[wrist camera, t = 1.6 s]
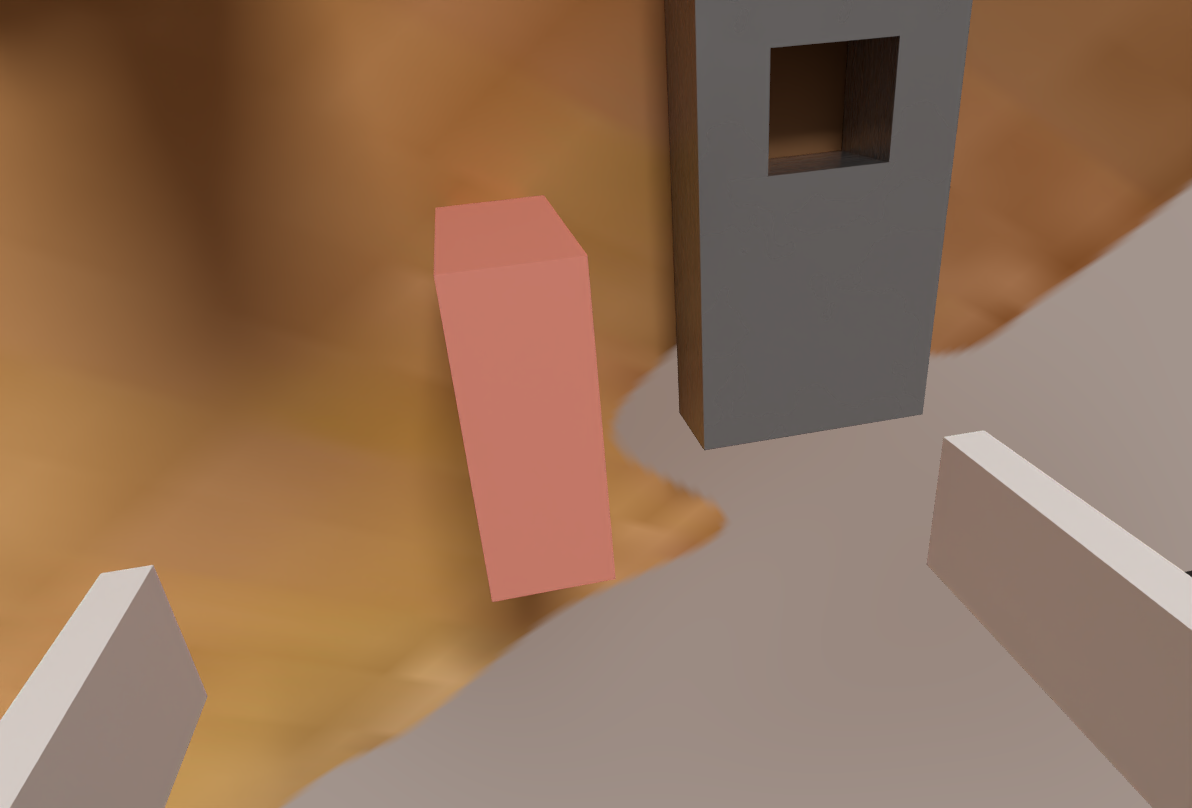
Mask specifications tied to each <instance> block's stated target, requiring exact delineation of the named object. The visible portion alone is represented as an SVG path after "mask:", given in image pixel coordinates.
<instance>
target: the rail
mask: <svg viewBox="0 0 1192 808" xmlns="http://www.w3.org/2000/svg"><path fill="white" fill-rule="evenodd" d="M971 9H972V0H665V25H666V53H667V81H668V108H669V136H670V164H671V192H672V219H673V247H674V275H675V303H676V330H677V358H678V383H679V384H678V385H679V411H680V414H681V416H682V417H683V419H684V420H685V422H686V423H687V425H688V426H689V428H690V429H691V431H692V432H693V434H694V435H695V437H696V438H697V440H698V441H699V443H700V444H701V446H702V448H703V449H704V450H709V449H715V448H721V447H726V446H733V445H739V444H745V443H751V442H757V441H763V440H769V439H775V438H781V437H788V436H794V435H800V434H805V433H812V432H818V431H824V430H830V429H836V428H841V427H848V426H854V425H860V424H866V423H872V422H879V421H885V420H891V419H897V418H903V417H909V416H915V415H921V414H922V413H923V405H924V397H925V389H926V379H927V372H928V364H929V356H930V347H931V339H932V331H933V322H934V314H935V306H936V298H937V289H938V281H939V273H940V265H941V256H942V248H943V240H944V232H945V223H946V215H947V207H948V199H949V190H950V182H951V174H952V166H953V157H954V149H955V141H956V132H957V124H958V116H959V108H960V99H961V91H962V83H963V75H964V66H965V58H966V50H967V42H968V33H969V25H970V17H971ZM839 41H848V52H847V69H846V86H845V103H844V120H843V137H842V150H841V151H833V152H824V153H815V154H806V155H798V156H789V157H780V158H771V159H768V154H769V100H770V48H775V47H786V46H797V45H807V44H818V43H829V42H839Z"/></svg>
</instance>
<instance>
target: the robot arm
mask: <svg viewBox="0 0 1192 808" xmlns="http://www.w3.org/2000/svg"><path fill="white" fill-rule="evenodd" d="M927 565H928V566H929V567H930V568H931V570H932V571H933V572H934V573H935V574H936V575H937V576H938V577H939V578H940V579H941V580H942V582H943V583H944V584H945V585H946V586H947V587H948V588H949V589H950V590H951V591H952V592H953V593H954V594H955V595H956V596H957V597H958V599H959V600H960V601H961V602H962V603H963V604H964V605H965V606H966V607H967V608H968V609H969V611H970V612H972V614H973V615H974V616H975V617H976V618H977V619H978V620H979V621H980V622H981V623H982V625H984V627H985V628H986V629H987V630H988V631H989V632H990V633H991V634H992V635H993V636H994V637H995V638H996V639H997V641H998V642H999V643H1000V644H1001V645H1002V646H1003V647H1004V648H1005V649H1006V650H1007V651H1008V652H1009V653H1010V655H1011V656H1012V657H1013V658H1014V659H1015V660H1016V661H1017V662H1018V663H1019V664H1020V665H1021V666H1022V668H1023V669H1024V670H1025V671H1026V672H1027V673H1028V674H1029V675H1030V676H1031V677H1032V678H1033V679H1034V681H1035V682H1036V683H1037V684H1038V685H1039V686H1040V687H1041V688H1042V689H1043V690H1044V691H1045V692H1046V693H1047V694H1048V696H1049V697H1050V698H1051V699H1052V700H1053V701H1054V702H1055V703H1056V704H1057V705H1058V706H1059V707H1060V708H1061V710H1062V711H1063V712H1064V713H1065V714H1066V715H1067V716H1068V717H1069V718H1070V719H1071V720H1072V721H1073V722H1074V723H1075V725H1076V726H1077V727H1078V728H1079V729H1080V730H1081V731H1082V732H1083V733H1084V734H1085V735H1086V736H1087V738H1089V740H1090V741H1091V742H1092V743H1093V744H1094V745H1095V746H1096V747H1097V748H1098V749H1099V750H1100V752H1101V753H1102V754H1103V755H1104V756H1105V757H1106V758H1107V759H1108V760H1109V761H1110V762H1111V763H1112V764H1113V765H1114V767H1115V768H1116V769H1117V770H1118V771H1119V772H1120V773H1121V774H1122V775H1123V776H1124V777H1125V778H1126V780H1127V781H1128V782H1129V783H1130V784H1131V785H1132V786H1133V787H1134V788H1135V789H1136V790H1137V791H1138V792H1139V794H1140V795H1141V796H1142V797H1143V798H1144V799H1145V800H1146V801H1147V802H1148V803H1149V804H1150V805H1151V806H1152V808H1192V571H1188V572H1184V571H1182V570H1181V569H1179V568H1178V567H1177V566H1175V565H1174V564H1172V563H1171V562H1169V561H1168V560H1167V559H1165V558H1164V557H1162V556H1161V555H1160V554H1158V553H1157V552H1155V551H1154V550H1152V549H1151V548H1150V547H1148V546H1147V545H1145V544H1144V543H1143V542H1141V541H1140V540H1138V539H1137V538H1135V537H1134V536H1133V535H1131V534H1130V533H1128V532H1127V531H1125V530H1124V529H1123V528H1121V527H1120V526H1119V525H1117V524H1116V523H1114V522H1113V521H1111V520H1110V519H1109V518H1107V517H1106V516H1104V515H1103V514H1102V513H1100V512H1099V511H1097V510H1096V509H1094V508H1093V507H1092V506H1090V505H1089V504H1087V503H1086V502H1084V501H1083V500H1082V499H1080V498H1079V497H1078V496H1076V495H1075V494H1073V493H1072V492H1070V491H1069V490H1068V489H1066V488H1065V487H1063V486H1062V485H1061V484H1059V483H1058V482H1056V481H1055V480H1053V479H1052V478H1051V477H1049V476H1048V475H1046V474H1045V473H1043V472H1042V471H1041V470H1039V469H1038V468H1036V467H1035V466H1034V465H1032V464H1031V463H1029V462H1028V461H1027V460H1025V459H1024V458H1022V457H1021V456H1019V455H1018V454H1016V453H1015V452H1014V451H1012V450H1011V449H1010V448H1008V447H1007V446H1005V445H1004V444H1003V443H1001V442H1000V441H998V440H997V439H995V438H994V437H993V436H991V435H990V434H988V433H987V432H986V431H977V432H971V433H965V434H959V435H953V436H946V437H944V438H943V446H942V453H941V460H940V468H939V476H938V483H937V491H936V499H935V505H934V513H933V520H932V528H931V536H930V543H929V551H928V559H927ZM206 699H207V694H206V691H205V689H204V686H203V684H202V682H201V679H200V677H199V674H198V672H197V669H196V667H195V665H194V662H193V660H192V657H191V655H190V653H189V650H188V648H187V645H186V643H185V640H184V638H183V636H182V633H181V631H180V628H179V626H178V624H177V621H176V619H175V616H174V614H173V611H172V609H171V607H170V604H169V602H168V599H167V597H166V594H165V592H164V590H163V587H162V585H161V582H160V580H159V578H158V575H157V573H156V570H155V568H154V565H150V566H144V567H138V568H132V569H125V570H119V571H113V572H107V573H101V574H100V575H99V577H98V578H97V580H96V581H95V583H94V584H93V585H92V587H91V588H90V590H89V591H88V593H87V594H86V596H85V597H84V599H83V600H82V602H81V603H80V604H79V606H78V607H77V609H76V610H75V612H74V613H73V615H72V616H71V618H70V619H69V621H68V622H67V624H66V625H65V626H64V628H63V629H62V631H61V632H60V634H59V635H58V637H57V638H56V640H55V641H54V643H53V644H52V645H51V647H50V648H49V650H48V651H47V653H46V654H45V656H44V657H43V659H42V660H41V662H40V663H39V665H38V666H37V667H36V669H35V670H34V672H33V673H32V675H31V676H30V678H29V679H28V681H27V682H26V684H25V685H24V686H23V688H22V689H21V691H20V692H19V694H18V695H17V697H16V698H15V700H14V701H13V703H12V704H11V706H10V707H9V708H8V710H7V711H6V713H5V714H4V716H3V717H2V719H1V720H0V808H165V805H166V802H167V800H168V797H169V795H170V792H171V789H172V787H173V784H174V782H175V779H176V776H177V774H178V771H179V769H180V766H181V763H182V761H183V758H184V756H185V753H186V750H187V748H188V745H189V743H190V740H191V737H192V735H193V732H194V730H195V727H196V724H197V722H198V719H199V717H200V714H201V711H202V709H203V706H204V704H205V701H206Z"/></svg>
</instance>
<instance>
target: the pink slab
mask: <svg viewBox="0 0 1192 808" xmlns="http://www.w3.org/2000/svg"><path fill="white" fill-rule="evenodd" d="M434 279H435V285H436V291H437V296H438V302H439V307H440V313H441V318H442V324H443V330H444V335H445V341H446V346H447V352H448V358H449V363H450V369H451V374H452V380H453V386H454V391H455V397H456V402H457V408H458V413H459V419H460V425H461V430H462V436H463V441H464V447H465V453H466V458H467V464H468V469H469V475H470V481H471V486H472V492H473V497H474V503H475V508H476V514H477V520H478V525H479V531H480V536H481V542H482V548H483V553H484V559H485V564H486V570H487V575H488V581H489V587H490V592H491V598H492V602H495V601H500V600H506V599H511V598H516V597H522V596H527V595H532V594H538V593H543V592H548V591H554V590H559V589H564V588H570V587H575V586H581V585H586V584H591V583H597V582H602V581H607V580H613V579H615V568H614V556H613V545H612V533H611V522H610V510H609V499H608V487H607V476H606V464H605V453H604V441H603V430H602V418H601V407H600V395H599V384H598V372H597V360H596V349H595V337H594V326H593V314H592V303H591V291H590V280H589V268H588V257H587V254H586V253H585V251H584V250H583V249H582V247H581V246H580V245H579V243H578V242H577V240H576V239H575V238H574V236H573V235H572V233H571V232H570V231H569V229H568V228H567V227H566V225H565V224H564V222H563V221H562V220H561V218H560V217H559V216H558V214H557V213H556V211H555V210H554V209H553V207H552V206H551V204H550V203H549V202H548V200H547V199H546V198H545V196H544V195H542V196H533V197H525V198H516V199H508V200H499V201H490V202H482V203H473V204H465V205H456V206H447V207H439V208H436V213H435V248H434Z"/></svg>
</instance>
